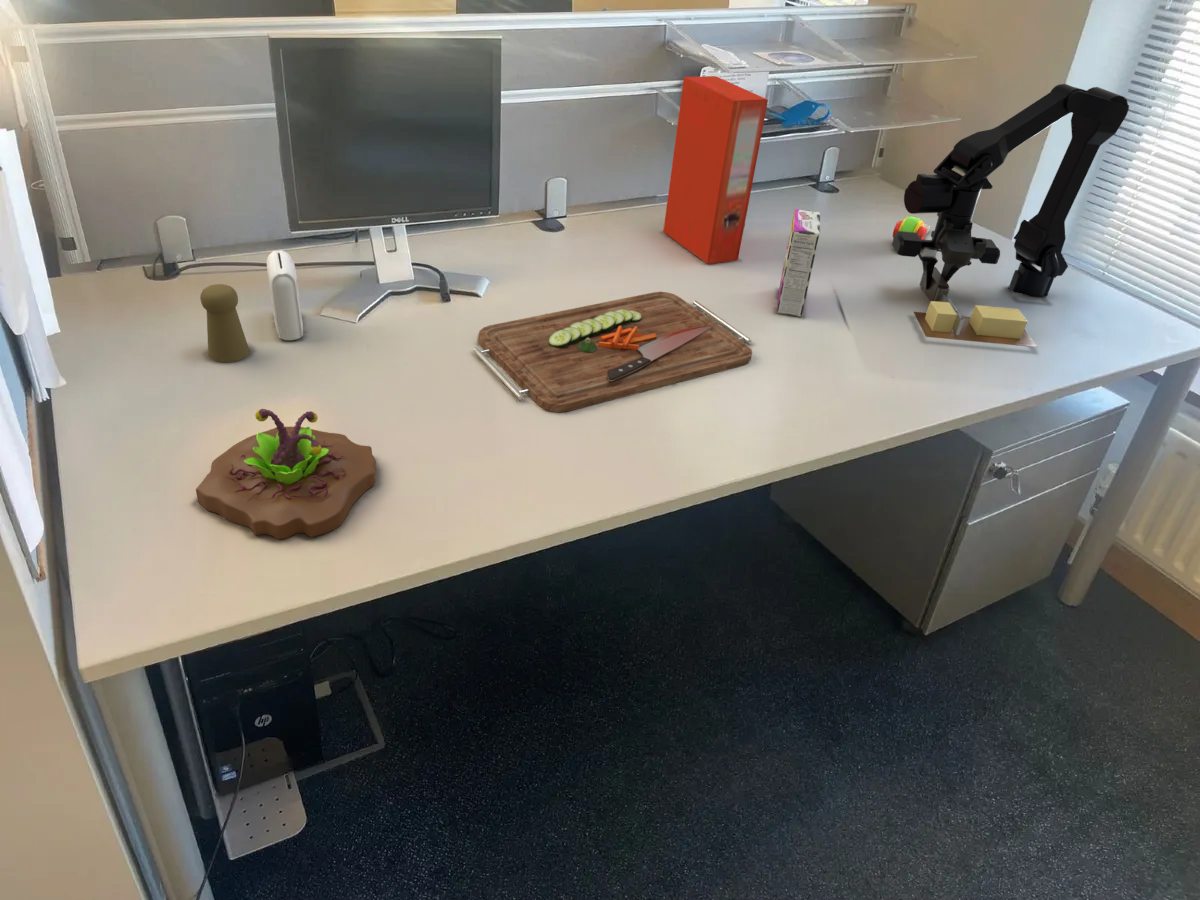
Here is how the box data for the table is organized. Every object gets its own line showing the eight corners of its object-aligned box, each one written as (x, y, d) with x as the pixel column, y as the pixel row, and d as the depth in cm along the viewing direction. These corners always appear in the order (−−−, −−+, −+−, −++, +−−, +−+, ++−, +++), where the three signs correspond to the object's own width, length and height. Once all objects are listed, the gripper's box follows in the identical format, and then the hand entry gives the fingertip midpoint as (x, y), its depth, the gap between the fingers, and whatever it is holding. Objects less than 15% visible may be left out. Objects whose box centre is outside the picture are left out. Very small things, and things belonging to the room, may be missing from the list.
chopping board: (678, 293, 170) (680, 278, 168) (770, 358, 152) (773, 342, 150) (459, 338, 149) (458, 321, 147) (535, 419, 131) (536, 401, 129)
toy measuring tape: (882, 250, 196) (890, 221, 192) (911, 226, 210) (919, 199, 206) (910, 258, 193) (919, 229, 190) (938, 234, 207) (947, 206, 203)
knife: (930, 285, 179) (936, 266, 176) (963, 335, 161) (970, 315, 158) (919, 284, 178) (925, 266, 176) (951, 334, 161) (957, 313, 158)
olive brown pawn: (257, 348, 142) (247, 284, 135) (233, 365, 137) (221, 300, 131) (225, 340, 143) (213, 276, 137) (199, 356, 138) (186, 291, 132)
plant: (268, 427, 125) (257, 357, 118) (397, 460, 121) (392, 389, 114) (172, 513, 109) (152, 437, 102) (316, 553, 105) (306, 477, 98)
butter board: (1017, 327, 170) (1019, 321, 169) (1035, 352, 161) (1037, 347, 161) (911, 317, 170) (913, 311, 169) (924, 342, 161) (926, 336, 161)
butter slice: (943, 320, 167) (949, 302, 165) (951, 332, 163) (957, 314, 161) (924, 318, 167) (930, 300, 165) (932, 331, 163) (937, 313, 161)
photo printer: (273, 313, 151) (262, 244, 144) (299, 311, 153) (290, 242, 146) (277, 342, 144) (266, 271, 137) (305, 340, 145) (296, 268, 138)
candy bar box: (777, 289, 175) (794, 207, 166) (803, 293, 175) (821, 211, 165) (774, 314, 166) (792, 229, 157) (801, 318, 166) (821, 233, 156)
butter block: (1011, 326, 167) (1018, 308, 165) (1020, 339, 163) (1027, 321, 161) (968, 322, 167) (975, 304, 165) (976, 335, 163) (983, 317, 161)
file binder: (694, 229, 198) (716, 75, 179) (739, 259, 186) (768, 98, 167) (663, 233, 194) (682, 77, 176) (706, 264, 182) (732, 100, 164)
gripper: (916, 222, 159) (893, 303, 168) (1022, 232, 159) (993, 312, 168) (902, 200, 168) (881, 278, 177) (1002, 209, 168) (976, 286, 177)
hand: (932, 289), depth 174 cm, fingers closed on knife, 2 cm apart
